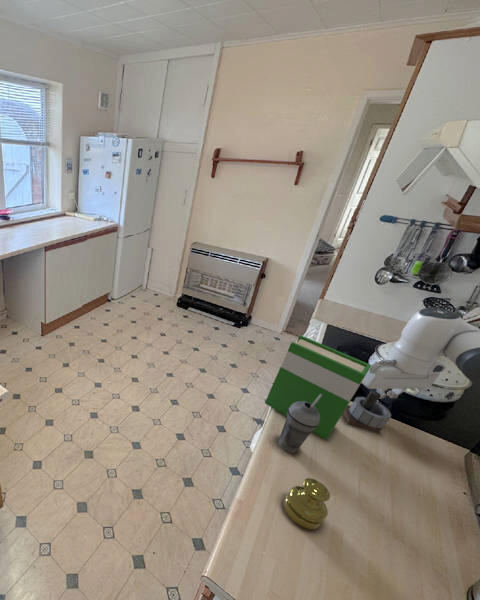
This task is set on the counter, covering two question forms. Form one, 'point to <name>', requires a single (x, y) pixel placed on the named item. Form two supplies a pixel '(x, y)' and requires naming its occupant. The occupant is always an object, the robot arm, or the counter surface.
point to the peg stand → (367, 405)
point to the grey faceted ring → (370, 413)
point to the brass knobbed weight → (307, 503)
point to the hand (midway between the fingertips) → (384, 396)
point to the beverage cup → (299, 424)
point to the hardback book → (317, 381)
